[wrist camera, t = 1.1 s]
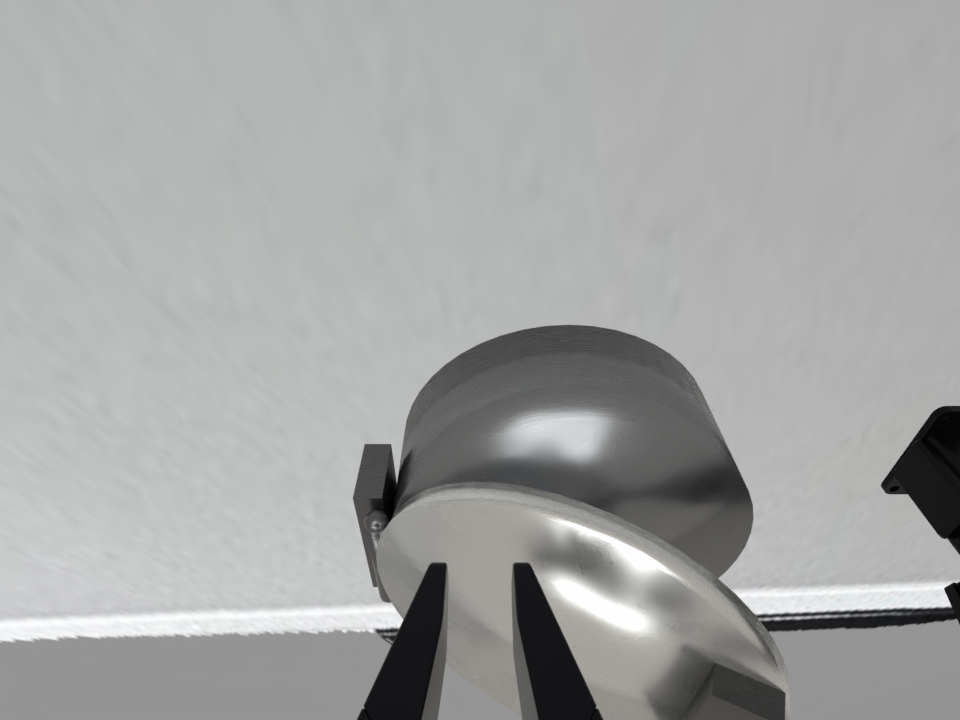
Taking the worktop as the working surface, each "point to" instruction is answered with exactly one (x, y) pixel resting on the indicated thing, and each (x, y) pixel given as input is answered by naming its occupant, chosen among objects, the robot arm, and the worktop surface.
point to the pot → (573, 437)
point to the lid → (582, 603)
